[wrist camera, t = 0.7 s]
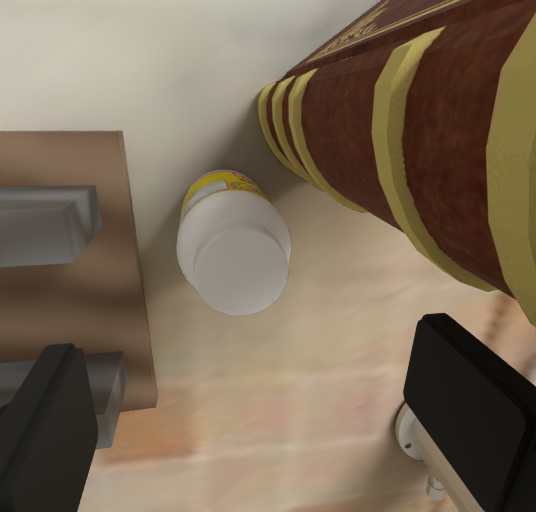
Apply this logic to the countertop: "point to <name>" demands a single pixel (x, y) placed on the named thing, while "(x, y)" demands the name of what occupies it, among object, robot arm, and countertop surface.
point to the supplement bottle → (233, 243)
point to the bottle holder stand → (73, 267)
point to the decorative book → (425, 131)
